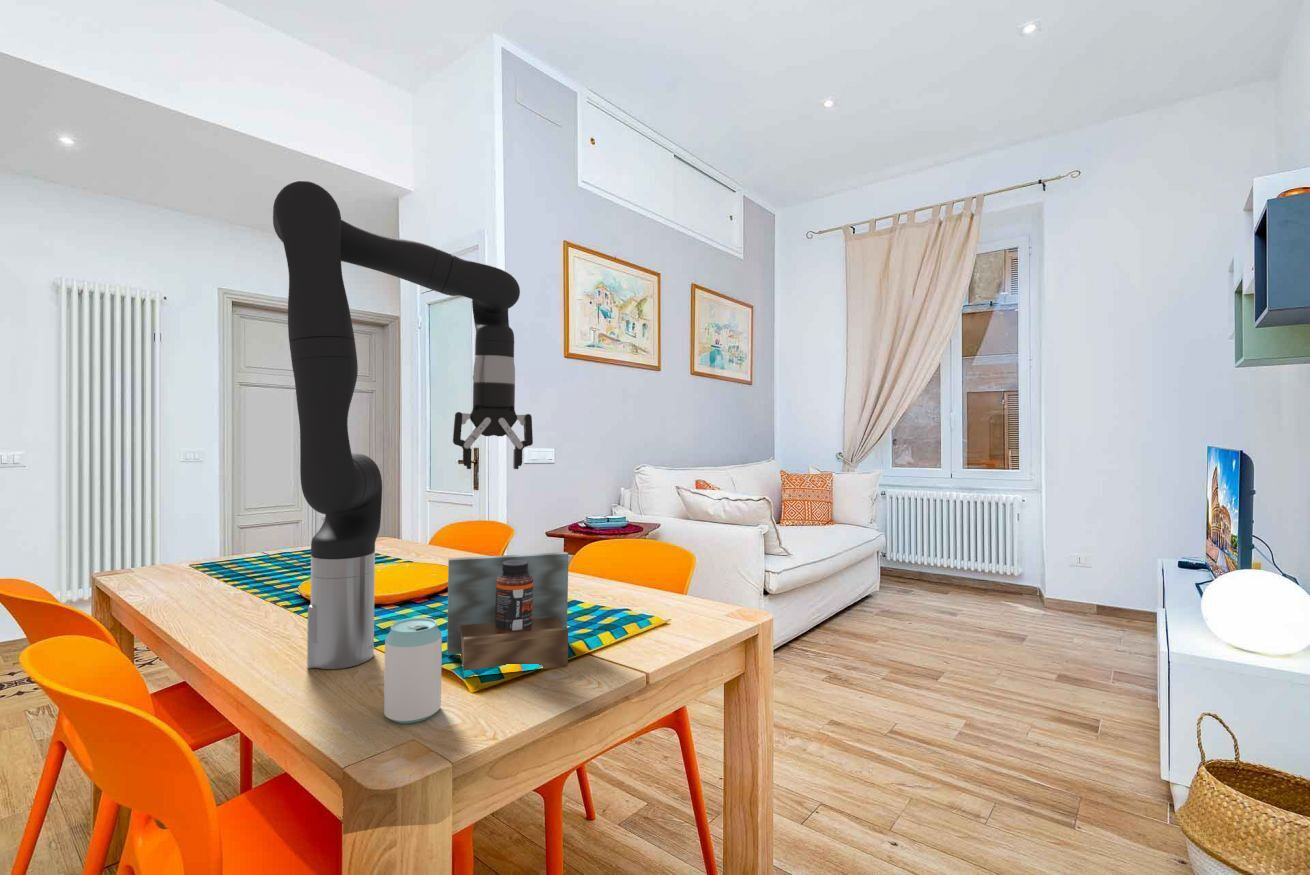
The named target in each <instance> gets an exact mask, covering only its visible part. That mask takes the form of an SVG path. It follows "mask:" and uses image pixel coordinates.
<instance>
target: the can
mask: <svg viewBox="0 0 1310 875" xmlns="http://www.w3.org/2000/svg"><path fill="white" fill-rule="evenodd" d="M442 642H443V633H442V631H441V630H440V629H439V627H438V622H437V621H436V620H435V619H433V618H429V617H412V618H405V619H401V620H398V621H395V622H394V623H393V624H391V625H390V631H389V633H388V634H387V635H386V637H385V639H384V692H383V693H384V694H383V695H384V696H383V699H384V702H383V706H384V707H383V713H384V716H385V717H386V718H387V719H389V720H391V721H393V722H395V723H398V724H413V723H419V722H423V721H425V720H427V719H429V718H431V717H432V716H433V715H434V714H436V713H437V712H438V711H439V710H440V709H441V707H442V663H443V662H442V659H443V658H442V655H443V654H442V653H443V651H442V650H443V646H442V645H443V643H442Z"/></svg>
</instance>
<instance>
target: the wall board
mask: <svg viewBox="0 0 1310 875" xmlns="http://www.w3.org/2000/svg"><path fill="white" fill-rule="evenodd" d="M509 560H524V561H527V562H528V570H527V571H528V573H529V574H530V575H531V576H532V577H533V617H532V618H533V620H532V629H531V631H523V632H513V633H502V634H498V633H497V632H496V630H495V609H496V580H497V577H498V576H499V575H501V574H502V573H503V570H502V568H503V562H505V561H509ZM447 565H448V566H447V567H448V568H447V569H448V570H447V572H448V573H447V574H448V576H447V577H448V578H447V585H448V586H447V626H446V628H447V632H446V633H447V634H446V636H447V638H446V640H447V641H446V642H447V643H446V647H447V648H446V654H447V655H448V654H453V653H459V652H460V654H461V658H460V661H461V660H462V665H463V670H464V671H465V670H473V669H481V668H489V667H496V666H501V665H506V664H539V665H542V666H543V668H542V669H541V670H550V669H557V668H565V667H568V661H569V660H568V658H569V628H568V606H569V605H568V604H569V603H568V597H569V596H568V594H569V553H568V552H566V551H563V552H560V551H559V552H547V553H546V552H544V553H543V552H542V553H527V554H525V553H524V554H509V555H508V554H507V555H487V556H485V555H484V556H470V557H469V556H468V557H466V556H465V557H449V558H448V564H447ZM462 665H461V666H462Z"/></svg>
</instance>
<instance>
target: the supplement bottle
mask: <svg viewBox="0 0 1310 875" xmlns="http://www.w3.org/2000/svg"><path fill="white" fill-rule="evenodd" d="M502 570H503V573H502V574H501V575H499V576H498V577H497V580H496V609H495V630H496V632H497V633H498V634H502V633H513V632H523V631H531V629H532V620H533V618H532V617H533V577H532V576H531V575H530V574H529V573H528V571H527V570H528V562H527V561H524V560H509V561H505V562H503V568H502Z"/></svg>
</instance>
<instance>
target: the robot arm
mask: <svg viewBox="0 0 1310 875" xmlns="http://www.w3.org/2000/svg"><path fill="white" fill-rule="evenodd" d="M341 216H342V215H341V211H340V208H339V206H338V203H337V202H336V200H335V198H334V197H333V196H332V195H331V193H329V191H328V190H326V189H325V188H324V187H322V186H320V185H319V184H317V183H315V182H312V181H309V180H295V181H293V182H290V183H288V184H286V185H285V186H284V187H283V188H281V190H280V191H279V192H278V193H277V195H276V197H275V199H274V202H273V208H272V224H273V229H274V232H275V234H276V237H278V239H280V241H281V242H282V244H283V249H284V253H285V258H286V263H287V269H288V297H287V298H288V300H287V330H288V331H287V332H288V344H289V352H290V358H291V359H290V360H291V367H292V373H293V378H294V386H295V387H294V388H295V395H296V403H297V404H296V405H297V406H296V407H297V414H298V420H299V421H298V422H299V424H298V425H299V446H300V447H299V452H300V453H299V458H300V459H299V460H300V461H299V462H300V463H299V464H300V465H299V466H300V467H299V475H300V476H299V477H300V486H301V491H302V495H303V497H304V499H305V501H306V502H307V504H308V505H309V506H310V508H312V509H313V510H314V511H315V512H317V513H320V514H323V515H324V516H325V517H324V520H323V523H322V526H321V527H320V529H319V530H318V531H317V532H316V533H315V535H313V537H312V539H311V542H310V603H309V606H308V608H307V648H306V650H307V651H306V652H307V653H306V654H307V656H306V657H307V660H306V661H307V662H306V665H307V666H306V668H307V669H314V668H315V669H320V670H321V669H323V670H337V669H346V668H350V667H354V666H358V665H362V664H364V663H365V662H368V661H370V660H371V659H372V658H373V656H374V652H375V651H374V649H375V647H374V646H375V587H376V585H375V578H376V577H375V576H376V575H375V574H376V573H375V572H376V570H375V569H376V567H375V566H376V564H375V562H376V541H377V539H378V535H379V533H380V529H381V520H382V506H383V505H382V503H383V502H382V501H383V480H382V475H381V471H380V469H379V466H378V464H377V463H376V462H375V461H374V460H373V459H372V458H370V456H368V455H365V454H362V453H357V452H352V450H351V444H350V439H349V437H350V436H349V426H348V420H349V419H348V418H349V411H350V407H351V403H352V399H353V396H354V393H355V389H356V384H357V381H358V380H357V379H358V371H359V370H358V365H359V364H358V354H357V348H356V346H357V345H356V341H355V340H356V339H355V333H354V328H353V327H354V326H353V322H352V316H351V312H350V305H349V301H348V296H347V291H346V288H345V283H344V278H343V272H342V262H344V263H347V264H352V265H355V266H358V267H359V266H360V267H363V268H367V269H370V270H374V271H377V272H381V273H384V274H387V275H390V276H393V277H396V278H399V279H401V280H405V281H407V282H410V283H413V284H416V285H418V286H421V287H423V288H426V289H429V290H431V291H433V292H436V293H440V294H442V295H446V296H450V297H456V296H457V297H459V296H461V297H465V298H468V299H471V305H472V306H471V307H472V313H473V314H472V315H473V323H474V327H475V342H474V343H475V344H474V364H473V372H472V373H473V374H472V382H473V383H472V389H473V390H472V410H471V413H467V412H465V413H463V412H460V411H458V412H455V413H454V421H453V422H454V424H453V434H452V442H453V444H454V445H456V446H458V447H461V448H462V464H463V466H464V467H466V469H467V470H472V448H471V446H472V445H473V444H474V443H475V442H476V440H477V439H478V438H479V437H480V436H481V435H482V436H485V437H492V436H493V437H494V436H495V437H504V436H506V437H507V439H509V440H510V442H511V443H512V445H513V446H514V449H513V457H512V458H513V459H512V460H513V463H512V464H513V467H512V468H513V469H514V470H519V467H521V466H522V464H523V449H525V448H527V447H530V446H533V443H534V440H533V438H534V437H533V436H534V435H533V419H532V414H530V413H525V414H517V413H516V410H515V407H516V406H515V405H516V404H515V403H516V402H515V400H516V399H515V398H516V394H515V393H516V366H515V333H514V330H513V329H512V328H511V327H510V320H509V309H511V308H512V307H513V306H514V305H515V304H516V303H517V302H518V301H519V299H520V295H521V288H520V285H519V283H518V281H517V280H516V278H515V277H514V276H513V275H512V274H510V273H509V272H507V271H505V270H503V269H501V268H498V267H495V266H492V265H488V264H485V263H479V262H476V261H471V260H468V259H467V260H466V259H463V258H460V257H458V256H456V255H454V254H451V253H448V252H446V251H443V250H441V249H438V248H436V247H434V246H431V245H428V244H425V243H421V242H417V241H413V240H409V239H403V238H397V237H393V236H392V237H391V236H386V235H382V234H377V233H376V232H375V233H374V232H370V231H368V230H365V229H361V228H360V227H358V226H355V225H353V224H350V223H349V222H346V221H345V220H344V219H342V217H341ZM468 420H470V421H471V423H472V424H473V425H474V427H475V428H474V429H473V431H471V432H470V434H469V435H468V437H467V438H466V439H465V440H463V439H461V438H462V426H463V425H466V423H467V421H468ZM517 421H518V422H519V424H520V426H523V436H524V437H523V440H521V439H520V438H519V437H518V435H517V434H516V432H515V430H513V429H512V428H513V427H514V425H515V424H516V422H517Z"/></svg>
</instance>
